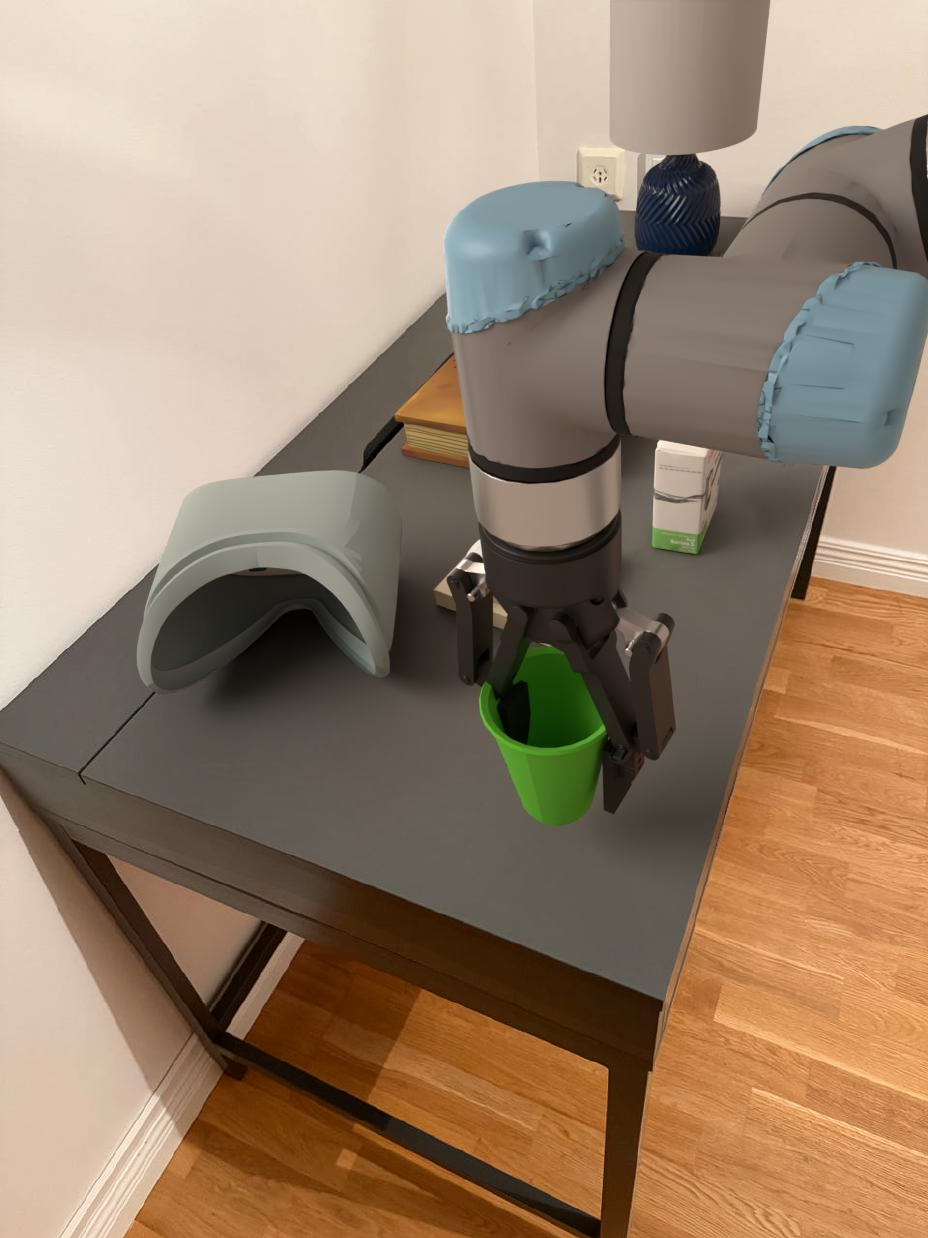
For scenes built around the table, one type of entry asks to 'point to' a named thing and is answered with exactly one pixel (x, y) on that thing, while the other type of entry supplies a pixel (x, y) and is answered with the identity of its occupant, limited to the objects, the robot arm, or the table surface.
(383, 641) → the grey arched shell
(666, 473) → the ink box
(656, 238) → the lamp
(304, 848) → the table surface
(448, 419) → the diary
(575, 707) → the cup
